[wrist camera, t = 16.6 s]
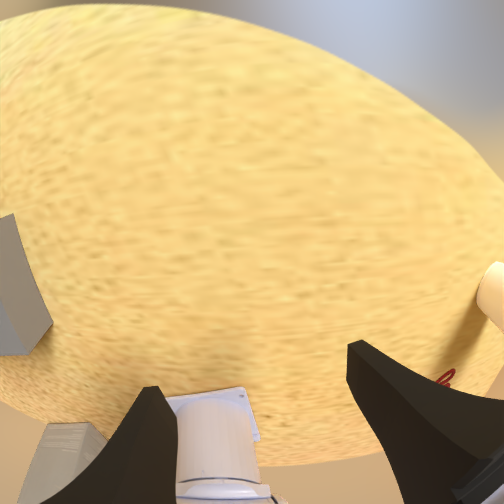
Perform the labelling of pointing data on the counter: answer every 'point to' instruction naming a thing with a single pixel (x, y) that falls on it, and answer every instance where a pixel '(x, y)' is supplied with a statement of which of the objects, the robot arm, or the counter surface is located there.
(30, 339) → the grey stemmed block
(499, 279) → the foam cup
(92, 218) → the counter surface
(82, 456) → the skincare box
